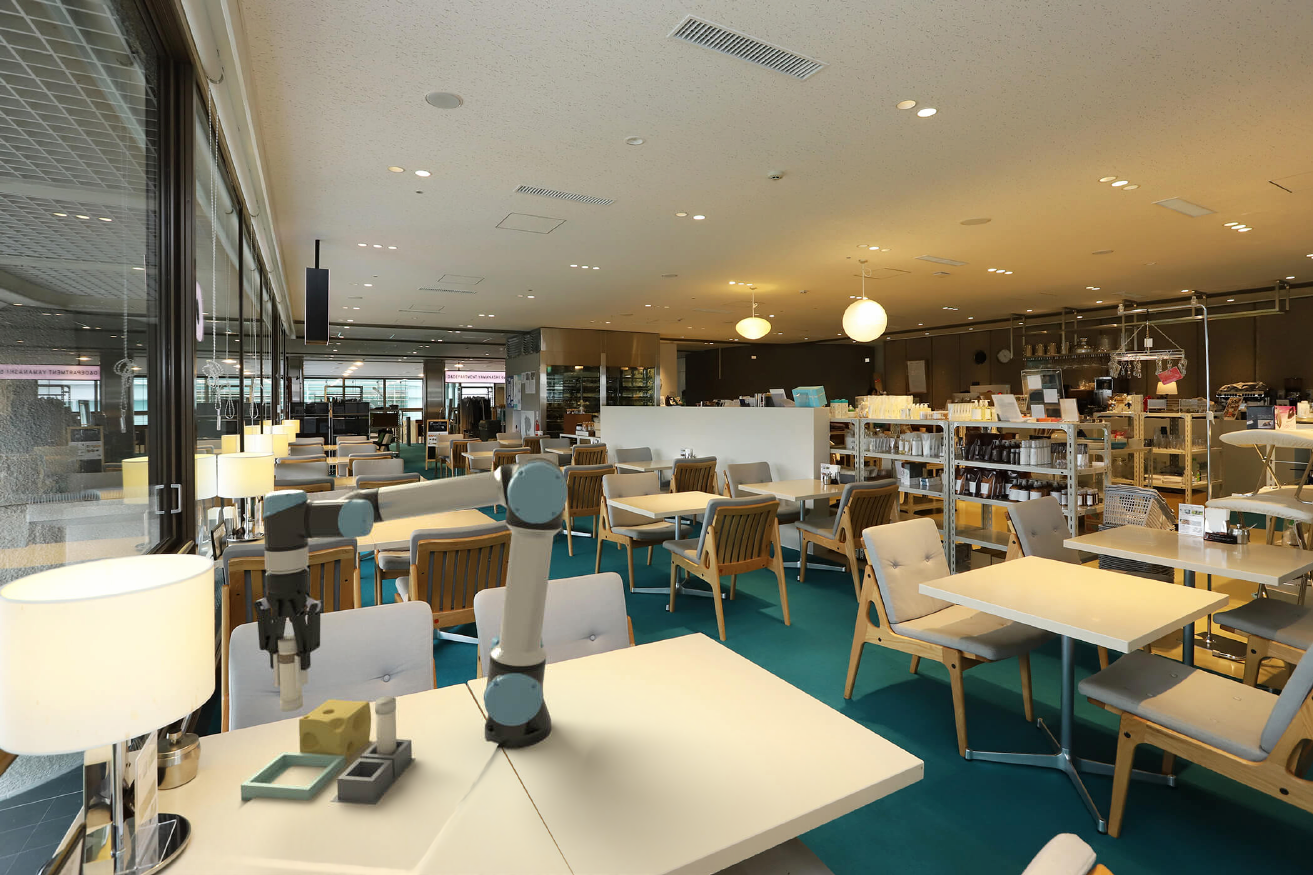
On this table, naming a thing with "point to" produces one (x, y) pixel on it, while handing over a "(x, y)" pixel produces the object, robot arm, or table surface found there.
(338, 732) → the cheese
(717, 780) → the table surface
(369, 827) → the table surface
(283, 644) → the banded white cylinder
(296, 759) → the pale green rectangular frame
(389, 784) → the fuse block
